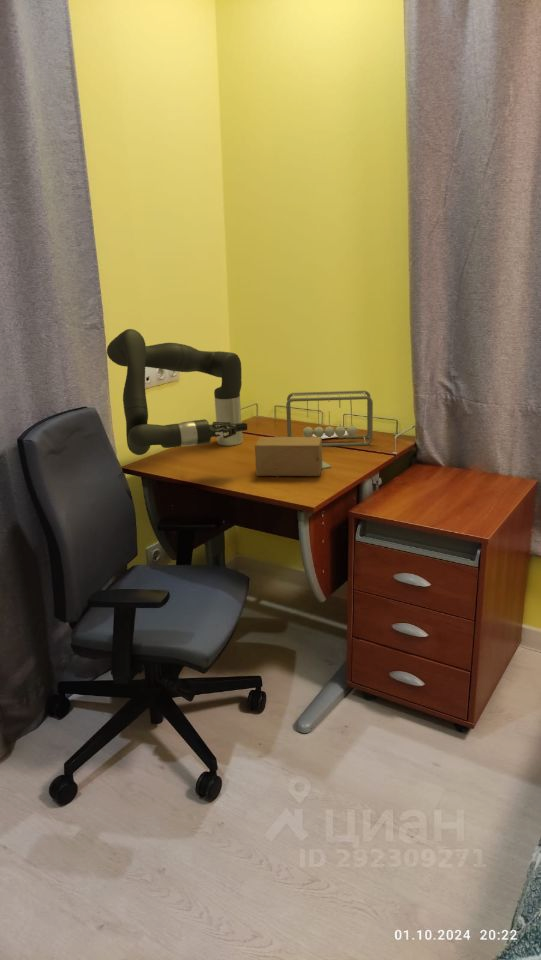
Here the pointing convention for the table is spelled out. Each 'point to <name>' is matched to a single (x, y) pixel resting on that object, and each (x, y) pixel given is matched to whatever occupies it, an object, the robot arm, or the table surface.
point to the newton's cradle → (329, 430)
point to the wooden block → (288, 456)
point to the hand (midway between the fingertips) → (246, 426)
